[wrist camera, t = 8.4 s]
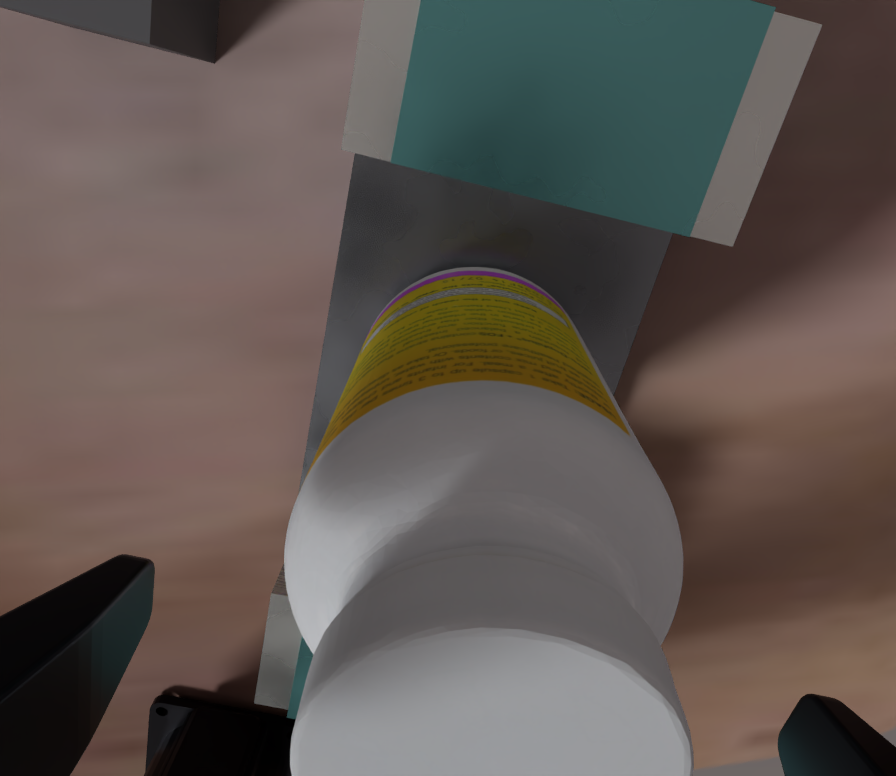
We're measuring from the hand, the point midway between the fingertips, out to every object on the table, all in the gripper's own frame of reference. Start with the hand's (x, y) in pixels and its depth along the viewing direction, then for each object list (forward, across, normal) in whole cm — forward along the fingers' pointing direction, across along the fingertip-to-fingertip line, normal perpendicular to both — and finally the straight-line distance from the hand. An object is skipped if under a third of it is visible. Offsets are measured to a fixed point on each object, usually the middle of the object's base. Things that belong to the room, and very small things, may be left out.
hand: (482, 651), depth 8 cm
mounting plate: (+13, 0, 0) cm, 13 cm away
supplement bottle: (+12, 0, 0) cm, 12 cm away
